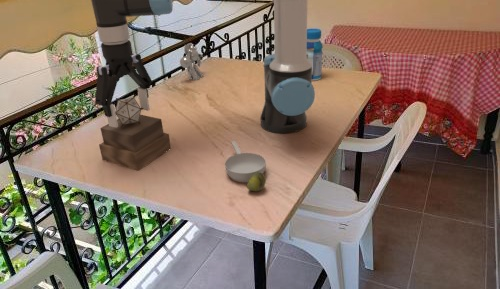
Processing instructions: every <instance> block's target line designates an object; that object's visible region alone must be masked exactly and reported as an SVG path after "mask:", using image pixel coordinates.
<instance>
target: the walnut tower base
mask: <svg viewBox="0 0 500 289" xmlns="http://www.w3.org/2000/svg"><path fill="white" fill-rule="evenodd" d="M117 122H118V127H117V128H116V127H111V126H109V123H108V124H106V125H104V126H102V127H100V132H101V136H102V141H103V142H101V143H99V144H98V146H99V151H100V155H101V159H102V161H105V162H109V163H111V164H115V165H118V166H121V167H125V168H129V169H132V170H134V171H135V170H136V171H140V170H141V169H143V168H144V167H146V166H148V165H149V164H150V162H151V163H152V162H153V161H155V160H156V159H158V158H159V157H161V156H163V155H164V154H165V153H167V152H168V151H170V150H171V149H172V148H171V141H170V134H169V133H167V132H164V127H163V121H162V118H158V117H153V116H150V115H144V114H140V118H139V122H140V123H141V124H139V123H138V122H136V123H130V124H124V125H123V127H122V123H121V121H120V120H119V118H117ZM169 149H170V150H169ZM166 151H167V152H166ZM163 153H164V154H163ZM160 155H161V156H160ZM157 157H158V158H157Z"/></svg>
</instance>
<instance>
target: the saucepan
mask: <svg viewBox="0 0 500 289" xmlns="http://www.w3.org/2000/svg"><path fill="white" fill-rule="evenodd" d="M231 145H232V147H233V149H234V150H235V153H236V154H233V155H231V156H229V157H228V158H227V159H226V160H225V162H224V167H225V171H226V173H227V174H228V176H229V177H230V179H232V180H233V181H235V182H239V183H248V181H249V180H250V178H251V177H252V176H253V175H254V174H255V173H257V172H261V173H262V174H263V175H264V172H265V170H266V164H267V161H266V159H265V157H263V156H262V155H260V154H257V153H253V152H242V151H241V149H240V147H239V145H238V144H237V142H236V141H235V140H232V141H231Z"/></svg>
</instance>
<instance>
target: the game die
mask: <svg viewBox="0 0 500 289" xmlns="http://www.w3.org/2000/svg"><path fill="white" fill-rule="evenodd" d="M135 98H136V94H133V97H129V98H122V99H119V98H118V97H115V100H116V101H117V102H116V108H115V113H116V118H117V119H119V120H120V121H121V123H122V127H123V125H124V124H130V123H136V122H138V123H139V124H141V123H140V122H139V118H140V115H141V112H142V111H144V110H143V109H144V108H141V106H140V104H139V103H138V102H137V100H136V99H135Z"/></svg>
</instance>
